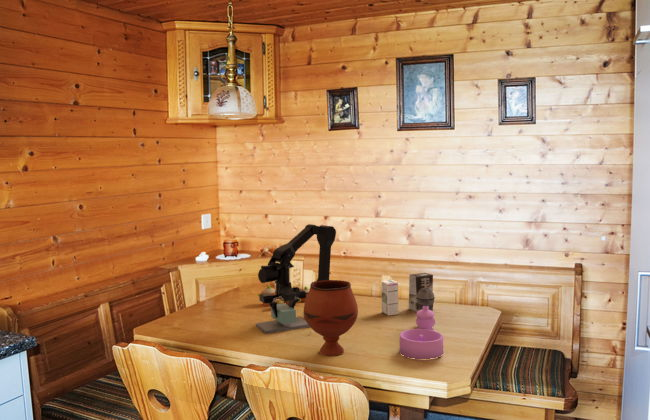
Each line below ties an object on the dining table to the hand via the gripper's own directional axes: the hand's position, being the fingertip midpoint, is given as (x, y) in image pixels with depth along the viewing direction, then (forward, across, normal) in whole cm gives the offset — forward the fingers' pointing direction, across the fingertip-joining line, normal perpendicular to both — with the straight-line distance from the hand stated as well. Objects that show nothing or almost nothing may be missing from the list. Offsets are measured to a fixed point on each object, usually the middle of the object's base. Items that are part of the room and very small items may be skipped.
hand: (283, 316), depth 237 cm
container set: (+5, +34, -49) cm, 60 cm away
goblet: (+4, +3, -37) cm, 37 cm away
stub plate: (+4, 0, 0) cm, 4 cm away
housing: (+1, 0, 0) cm, 1 cm away
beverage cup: (+4, +52, -27) cm, 59 cm away
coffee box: (+4, +65, -6) cm, 65 cm away
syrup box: (+4, +49, -5) cm, 49 cm away
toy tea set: (+5, +15, +33) cm, 37 cm away
